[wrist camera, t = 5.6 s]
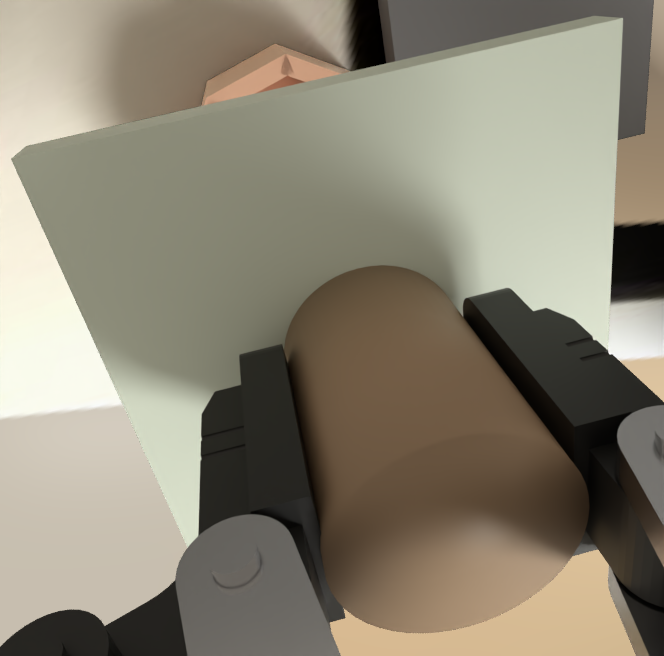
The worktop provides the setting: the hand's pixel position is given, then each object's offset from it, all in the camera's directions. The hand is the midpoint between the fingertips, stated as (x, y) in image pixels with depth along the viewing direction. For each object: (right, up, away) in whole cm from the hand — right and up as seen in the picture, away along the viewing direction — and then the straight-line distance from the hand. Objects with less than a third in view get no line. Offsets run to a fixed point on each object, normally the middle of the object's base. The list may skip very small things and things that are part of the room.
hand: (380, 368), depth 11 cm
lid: (0, +1, +1) cm, 1 cm away
